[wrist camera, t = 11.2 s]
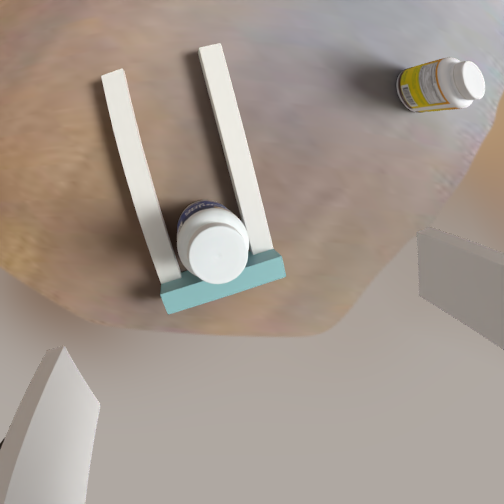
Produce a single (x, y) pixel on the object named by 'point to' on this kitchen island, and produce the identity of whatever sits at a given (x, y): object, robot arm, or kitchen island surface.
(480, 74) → the supplement bottle
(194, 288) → the guide track
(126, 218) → the kitchen island surface
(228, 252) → the pill bottle
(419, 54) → the kitchen island surface
